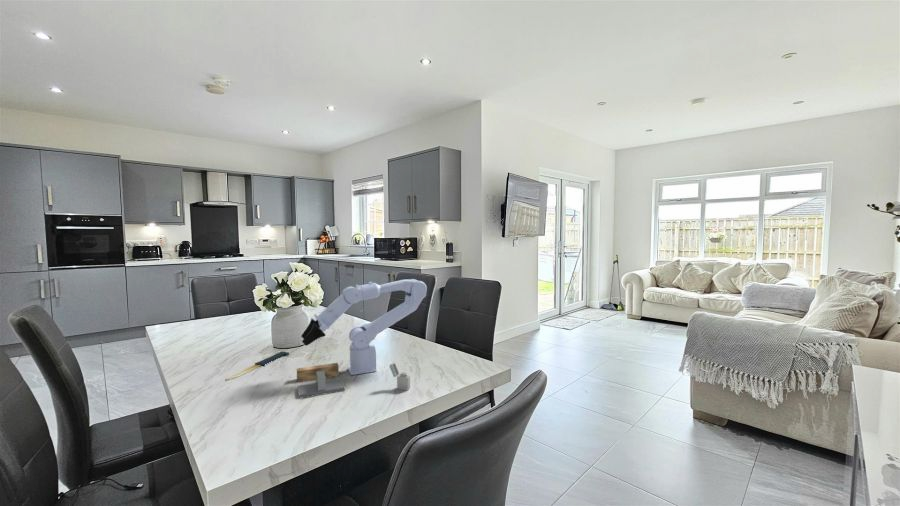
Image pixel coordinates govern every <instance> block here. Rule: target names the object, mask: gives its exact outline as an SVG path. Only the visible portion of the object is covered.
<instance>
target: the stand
mask: <svg viewBox="0 0 900 506" xmlns="http://www.w3.org/2000/svg"><path fill="white" fill-rule="evenodd" d="M326 378H327V377H325V374H324V371H318V372H316V379H315V382H313V383H308V384H300V385H297V394H298V395H299V396H298V399H301V398H300V397H303V398H307V396H309V397H313V396H312V395H315V396H318V395H317V394H321V395H324V394H323V393H326V394H330V393H329V392H332V393H337V392H336V391H338V392H341V391H343V390H344V391H345V390H346V388H345V387H346V386H345V385H344V382H343V380H342V378H339V379H331V380H327V379H326Z"/></svg>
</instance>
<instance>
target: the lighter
mask: <svg viewBox="0 0 900 506" xmlns="http://www.w3.org/2000/svg"><path fill="white" fill-rule="evenodd" d="M389 369H390V372H391V374H392V376H393V378H395V377H396V383H397V384H396V385H397V387H396V388H397V390H401V391H405V392H408V391H409V389H410V390H411V376H410V375H408V374H407V372H404V371H403V372H399V369H398V367H397V364H396V362H393V363H391V364H389Z"/></svg>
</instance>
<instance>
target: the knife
mask: <svg viewBox="0 0 900 506" xmlns="http://www.w3.org/2000/svg"><path fill="white" fill-rule="evenodd" d="M289 355H290V352H288V351H280V352H277V353H276V354H273V355H271V356H268V357H266V358H264V359H262V360H260V361H258V362H255V363H254V365H251V366H249V367H247V368H245V369H242V370H240V371H237V372H235V373H234V374H231V375H229V376H228V377H227V378H226V381H231V380H233V379H237V378H238V377H241V376H243V375H246V374H248V373H250V372H252V371H255V370H256V368H257V369H259V368H261V367H260V366H263V367H265V366H266V365H268V364H270V363H272V362H274V361H276V359H277V360H279V359H280V358H283V357H287V356H289ZM278 358H279V359H278ZM271 361H272V362H271ZM269 362H270V363H269ZM267 363H268V364H267ZM265 364H266V365H265ZM258 367H259V368H258ZM247 372H248V373H247ZM245 373H246V374H245ZM236 377H237V378H236ZM230 379H231V380H230Z"/></svg>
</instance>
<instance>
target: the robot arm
mask: <svg viewBox="0 0 900 506" xmlns="http://www.w3.org/2000/svg"><path fill="white" fill-rule="evenodd" d="M427 290H428V286H427V284H426V283H425V282H424V281H422V280H417V279H415V278H410V279H406V278H405V279H399V280H395V281H391V282H388V283H383V284H377V282H373V281H368V283H366V284H361V285H359V284H355V287H354V286H346V287H345V288H344V289H342V291H341V292H342V293H341V294H340V295H339V296H338V297H337V298H335V299H334V300H333V301H332V302H331V303H330V304H329V305H328V306H327V307H326V308H325V309H324V310H322V312H321V313H319V314H318V315H317V313H315V314H314V315H313V316H314V318H315V319H314V318H311V319H310V321H309V324H308V326H307V327H306V328H305V330H304V331H303V333H302V334H301V336H300V337H301V338H302V341H301V343H302V344H304V345H305V346H308V345H311V344H312V343H313V342H315V341H316V340H319V339H321V338H323V337H325V336H326V333H325V331H327V330H329V329H330V328H331V326H332V325H333V324H334V323H335V322H336V321H337V320H338V319H340V317H342V316H343V315H344V314H345V313H346V311H348V310H349V308H351V306H352V305H353V304H358V303H359V302H360V301H367V300H371V299H376V298H378V297H379V296H380V295H381V294H384V293H392V292H397V291H403V292H404V293H405V297H404V302H401V303H400V304H399V305H396V306H395V307H394V308H393V309H391V310H389V311H388V312H386V313H384V314H383V315H381V316H379V317H378V318H376V319H375V320H372V321H370V322H369V323H365V324H362V325H361V326H355V327H353V328H352V329H350V331H349V334H348V338H349V340H350V341H351V343H350V345H349V366H348V367H347V370H348V371H349V374H350V376H355V375H362V374H368V373H373V372H377V371H378V370H377V350H376V347H375V345H370V344H371V342H373V341H374V340H375V339H376V337H377V336H378V334H380V333H382V332H383V331H385V330H386V329H388V328H389V327H391V326H393V325H395V324H396V323H398V322H399V321H401V320H402V319H404V318H405V317H408V316H409V315H410V314H412V313H414V312H415V311H416V310H418V308H419V306H420V305H421V303H422V301H423V299H425V298H427Z"/></svg>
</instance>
